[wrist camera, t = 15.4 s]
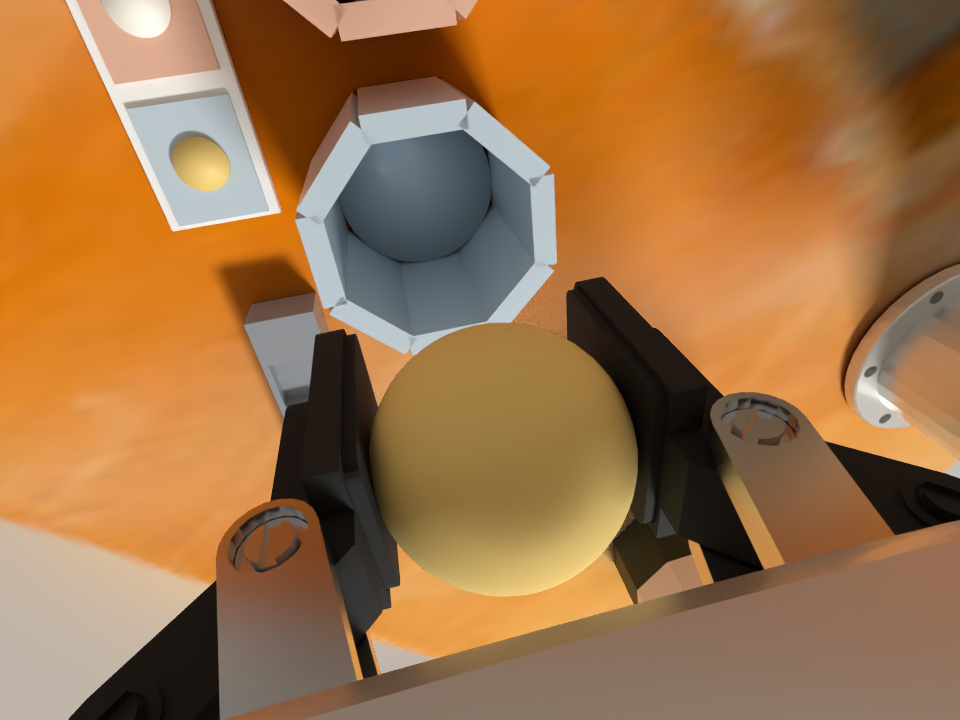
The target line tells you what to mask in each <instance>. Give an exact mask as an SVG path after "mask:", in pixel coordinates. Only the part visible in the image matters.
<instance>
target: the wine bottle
mask: <svg viewBox="0 0 960 720" xmlns="http://www.w3.org/2000/svg"><path fill="white" fill-rule="evenodd" d="M613 546H614V555H615V564H616V567H617V569H618V572H619V574H620V576H621V578H622V580H623V582H624V584H625V586H626V588H627V590H628V593H629V595H630V597H631V599H632V601H633V603H634V604H638V603H642V602H645V601H649V600H653V599H656V598H660V597H664V596H667V595H671V594H675V593H679V592H682V591H686V590H690V589H693V588H697V587H701V586H703V584H702V581H701V578H700V575H699V572H698V570H697V567H696V564H695V561H694V559H693V556H692V553H691V550H690V547H689V541H688V539H686V538H683V537H680V536H678V535H677V534H673V535H669V536H665V537H661V538H656V537H655V535H654V533H653V531H652V530H651V528H650V526H649V525H648V523H643V524H641V523H639V522H638V521H637V519H635V520H634V521H633V522H632V523H631V524H630V525H629V526H628V527H627V528H626V529H625V530H624V531H623V532H622V533H621V534H620V535H619V536H618V537H617V538H616V539H615V540H614V541H613Z"/></svg>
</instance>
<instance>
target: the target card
mask: <svg viewBox="0 0 960 720" xmlns="http://www.w3.org/2000/svg"><path fill="white" fill-rule="evenodd" d="M66 2H67V5H68V7H69V9H70V11H71V13H72V15H73V18H74V20H75V22H76V24H77V26H78V28H79V30H80V33H81V35H82V37H83V39H84V41H85V43H86V46H87V48H88V50H89V52H90V54H91V56H92V58H93V61H94V63H95V65H96V67H97V69H98V71H99V74H100V76H101V78H102V80H103V82H104V84H105V86H106V89H107V91H108V93H109V95H110V97H111V99H112V102H113V104H114V106H115V108H116V110H117V112H118V115H119V117H120V119H121V121H122V123H123V125H124V127H125V130H126V132H127V134H128V136H129V138H130V140H131V143H132V145H133V147H134V149H135V151H136V153H137V155H138V158H139V160H140V162H141V164H142V166H143V168H144V171H145V173H146V175H147V177H148V179H149V181H150V183H151V186H152V188H153V190H154V192H155V194H156V196H157V199H158V201H159V203H160V205H161V207H162V209H163V212H164V214H165V216H166V218H167V220H168V222H169V224H170V227H171V229H172V231H178V230H184V229H189V228H195V227H201V226H207V225H212V224H218V223H224V222H230V221H236V220H241V219H247V218H253V217H259V216H264V215H270V214H276V213H281V210H282V209H281V206H280V203H279V200H278V197H277V194H276V191H275V188H274V185H273V182H272V179H271V176H270V173H269V170H268V167H267V164H266V161H265V158H264V155H263V152H262V149H261V146H260V143H259V140H258V137H257V134H256V131H255V128H254V125H253V122H252V119H251V116H250V113H249V110H248V107H247V104H246V101H245V98H244V95H243V92H242V89H241V86H240V83H239V80H238V77H237V74H236V71H235V68H234V65H233V62H232V59H231V56H230V53H229V50H228V47H227V44H226V41H225V38H224V35H223V32H222V29H221V26H220V23H219V20H218V17H217V14H216V11H215V8H214V5H213V2H212V0H66Z"/></svg>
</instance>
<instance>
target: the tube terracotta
mask: <svg viewBox="0 0 960 720" xmlns="http://www.w3.org/2000/svg"><path fill="white" fill-rule="evenodd" d="M283 1H285V2H286V3H287V4H288V5H290V6H291V7H292V8H293V9H295V10H296V11H297V12H298V13H300V14H301V15H302V16H303V17H305V18H306V19H307V20H308V21H310V22H311V23H312V24H313V25H315V26H316V27H317V28H318V29H320V30H321V31H322V32H323V33H325V34H326V35H327V36H328V37H330V38H331V37H333V36H334V35H335V34H336V33H337V32H338V31H339V33H340V38H341V42H342V41H349V40H356V39H363V38H370V37H377V36H384V35H391V34H398V33H404V32H411V31H418V30H425V29H432V28H439V27H446V26H453V25H457V21H456V19H466V18H467V16H468V15H469V13H470V12H471V10H472V8H473V7H474V5H475V4H476V2H477V1H478V0H351V1H355V2H351V3H344V4H340V3H339V2H337V1H336V0H283Z"/></svg>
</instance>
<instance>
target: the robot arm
mask: <svg viewBox="0 0 960 720" xmlns="http://www.w3.org/2000/svg"><path fill="white" fill-rule="evenodd" d="M566 301H567V340H569V341H571V342H572V343H574V344H576V345H577V346H578V347H579V348H581V349H582V350H583V351H585V352H586V353H587V354H589V355H590V356H591V357H592V358H594V359H595V360H596V362H597V363H598V364H599V365H600V366H601V367H602V368H603V369H604V370H605V371H606V373H607V374H608V375H609V376H610V377H611V379H612V380H613V382H614V383H615V385H616V387H617V388H618V390H619V392H620V393H621V395H622V397H623V398H624V401H625V403H626V406H627V408H628V411H629V413H630V416H631V419H632V422H633V425H634V430H635V436H636V442H637V448H638V474H637V480H636V486H635V491H634V495H633V499H632V502H631V505H630V509H631V511H632V513H633V514H634V516H635V518H636V519H637V521H638V522H639V523H641V524H643V523H648V525H649V526H650V528H651V530H652V531H653V533H654V535H655V537H656V538H661V537H665V536H669V535H673V534H677V535H678V536H680V537H683V538H686V539H688V541H689V547H690V550H691V553H692V556H693V559H694V561H695V564H696V567H697V570H698V572H699V575H700V578H701V581H702V584H703V586H701V587H697V588H693V589H690V590H686V591H682V592H679V593H675V594H671V595H667V596H664V597H660V598H656V599H653V600H649V601H645V602H642V603H638V604H634V605H631V606H627V607H623V608H620V609H616V610H612V611H608V612H605V613H601V614H597V615H594V616H590V617H586V618H583V619H579V620H575V621H572V622H568V623H564V624H561V625H557V626H553V627H550V628H546V629H542V630H539V631H535V632H531V633H528V634H524V635H520V636H517V637H513V638H509V639H506V640H502V641H499V642H495V643H491V644H488V645H484V646H481V647H477V648H473V649H470V650H466V651H463V652H459V653H455V654H452V655H448V656H445V657H441V658H437V659H434V660H430V661H427V662H423V663H420V664H416V665H412V666H409V667H405V668H402V669H398V670H394V671H391V672H387V673H383V674H381V673H380V669H379V665H378V662H377V658H376V655H375V651H374V648H373V644H372V640H371V637H370V633H369V631H368V629H369V628H370V627H371V626H372V624H373V623H374V622H375V621H376V619H377V618H378V617H379V615H380V614H381V613H382V610H384V609H387V608H391V597H390V588H392V587H396V586H399V585H400V574H399V563H398V551H397V542H396V541H395V539H394V538H393V536H392V535H391V533H390V532H389V530H388V528H387V526H386V525H385V523H384V521H383V519H382V516H381V514H380V512H379V508H378V505H377V501H376V498H375V493H374V487H373V482H372V477H371V472H370V462H369V443H370V436H371V430H372V426H373V423H374V419H375V416H376V412H377V409H378V406H377V402H376V399H375V396H374V392H373V389H372V385H371V382H370V379H369V375H368V372H367V368H366V365H365V361H364V358H363V355H362V351H361V348H360V344H359V341H358V338H357V335H356V334H352V335H346V332H345V330H344V329H341V330H336V331H331V332H326V333H321V334H316V335H315V342H314V351H313V360H312V370H311V379H310V388H309V397H308V401H306V402H302V403H297V404H292V405H289V406H287V408H286V411H285V416H284V422H283V428H282V434H281V440H280V446H279V452H278V458H277V465H276V471H275V477H274V483H273V489H272V495H271V501H270V502H266V503H263V504H261V505H259V506H257V507H255V508H253V509H251V510H249V511H248V512H247V513H245V514H244V515H243V516H241V517H240V518H239V519H237V520H236V521H235V522H234V523H233V525H232V526H231V527H230V528H229V529H228V530H227V531H226V533H225V534H224V536H223V538H222V540H221V542H220V544H219V546H218V550H217V556H216V581H215V582H214V583H213V584H212V585H210V586H209V587H208V588H207V589H206V590H205V591H204V592H203V593H202V594H201V595H200V596H198V597H197V599H195V600H194V601H193V602H192V603H191V604H190V605H189V606H188V607H187V608H185V609H184V610H183V611H182V612H181V613H180V614H179V615H178V616H177V617H176V618H175V619H174V620H172V621H171V622H170V623H169V624H168V625H167V626H166V627H165V628H164V629H163V630H162V631H160V632H159V634H157V635H156V636H155V637H154V638H153V639H152V640H151V641H150V642H148V643H147V644H146V645H145V646H144V647H143V648H142V649H141V650H140V651H139V652H138V653H137V654H136V655H134V656H133V657H132V658H131V659H130V660H129V661H128V662H127V663H126V664H124V665H123V667H121V668H120V669H119V670H118V671H117V672H116V673H115V674H114V675H113V676H112V677H110V678H109V679H108V680H107V681H106V682H105V683H104V684H103V685H102V686H101V687H99V688H98V689H97V690H96V691H95V692H94V693H93V694H92V695H91V696H90V697H89V698H87V700H86V701H85V702H84V703H83V704H82V705H81V706H80V707H79V708H78V709H77V710H76V712H75V713H74V714H73V715H72V716H71V717H70V718H69V720H960V479H959V478H957V477H953V476H950V475H948V474H945V473H941V472H937V471H934V470H930V469H926V468H923V467H919V466H915V465H911V464H908V463H904V462H900V461H897V460H893V459H889V458H885V457H882V456H878V455H874V454H870V453H867V452H863V451H859V450H856V449H852V448H848V447H844V446H841V445H837V444H833V443H830V442H826V441H824V440H823V439H822V437H821V436H820V435H819V433H818V432H817V431H816V429H815V428H814V427H813V425H812V424H811V423H810V421H809V420H808V419H807V417H806V416H805V415H804V414H803V413H802V412H801V411H800V410H799V409H798V408H796V407H795V406H793V405H791V404H790V403H788V402H786V401H784V400H782V399H779V398H776V397H774V396H771V395H766V394H761V393H755V392H740V393H735V394H729V395H727V396H725V397H724V396H723V395H722V394H721V393H720V392H719V391H718V390H717V389H716V388H715V387H714V386H713V385H712V384H711V383H710V382H709V381H708V380H707V379H706V378H705V377H704V376H703V375H702V374H701V373H700V372H699V371H698V370H697V369H696V367H695V366H694V365H693V364H692V363H691V362H690V361H689V360H688V359H687V358H686V357H685V356H684V355H683V354H682V353H681V352H680V351H679V350H678V349H677V348H676V347H675V346H674V345H673V344H672V343H671V342H670V341H669V340H668V339H667V338H666V337H665V336H664V335H663V334H662V333H661V332H660V331H659V330H658V329H656V328H652V327H651V326H650V325H649V323H648V322H647V321H646V320H645V319H644V318H643V317H642V316H641V315H640V314H639V313H638V312H637V311H636V310H635V309H634V308H633V307H632V306H631V305H630V304H629V303H628V302H627V301H626V300H625V299H624V298H623V297H622V296H621V294H620V293H619V292H618V291H617V290H616V289H615V288H614V287H613V286H612V285H611V284H610V283H609V282H608V281H607V280H606V279H605V278H604V277H599V278H594V279H589V280H584V281H579V282H576V283H575V286H574V289H573V290H568V292H567V297H566ZM845 397H846V400H847V403H848V405H849V407H850V408H851V409H852V410H853V411H854V413H855V414H857V415H858V416H859V417H861V418H862V419H863V420H865V421H866V422H867V423H869V424H871V425H873V426H876V427H882V428H901V427H908V426H913V427H914V428H915V429H917V430H918V431H920V432H921V433H922V434H924V435H925V436H926V437H928V438H929V439H930V440H932V441H933V442H934V443H936V444H937V445H939V446H940V447H941V448H943V449H944V450H945V451H947V452H948V453H949V454H951V455H952V456H954V457H955V458H956V459H958V460H959V461H960V264H957V265H955V266H952V267H950V268H947V269H944V270H942V271H940V272H939V273H937V274H935V275H933V276H931V277H929V278H927V279H925V280H924V281H922V282H921V283H919V284H918V285H916V286H915V287H914V288H912V289H911V290H909V291H908V292H906V293H905V294H904V295H903V296H902V297H900V298H899V299H898V300H897V301H896V302H895V303H893V304H892V305H891V306H890V307H889V308H888V309H887V310H886V311H885V312H884V313H883V314H882V315H881V316H880V317H879V318H878V319H877V320H876V321H875V323H874V324H873V325H872V327H871V328H870V329H869V330H868V332H867V333H866V334H865V336H864V337H863V338H862V340H861V342H860V344H859V345H858V347H857V349H856V350H855V352H854V354H853V356H852V359H851V361H850V364H849V366H848V369H847V374H846V379H845Z"/></svg>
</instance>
